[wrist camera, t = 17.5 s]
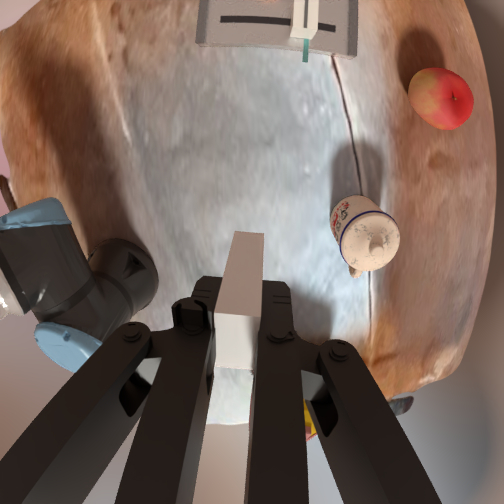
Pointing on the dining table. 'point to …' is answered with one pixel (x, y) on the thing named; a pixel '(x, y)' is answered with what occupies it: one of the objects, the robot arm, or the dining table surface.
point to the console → (278, 26)
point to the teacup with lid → (364, 234)
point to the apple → (441, 98)
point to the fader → (304, 18)
